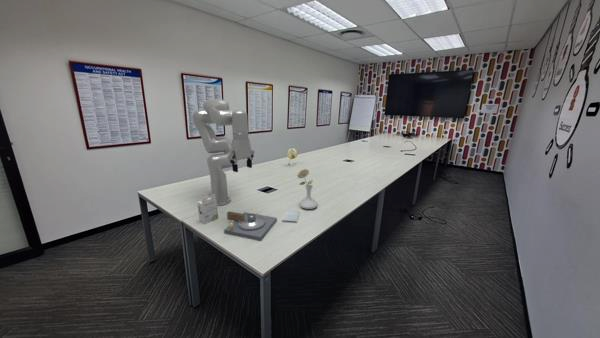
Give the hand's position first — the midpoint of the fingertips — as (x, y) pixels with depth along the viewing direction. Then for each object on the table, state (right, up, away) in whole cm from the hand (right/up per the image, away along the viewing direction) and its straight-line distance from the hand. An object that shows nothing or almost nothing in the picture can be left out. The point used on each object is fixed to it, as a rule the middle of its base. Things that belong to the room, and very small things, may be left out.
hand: (242, 169), depth 120 cm
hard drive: (+25, -28, +13) cm, 40 cm away
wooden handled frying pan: (+1, -28, +2) cm, 28 cm away
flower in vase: (+34, -24, +26) cm, 49 cm away
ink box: (-21, -28, +8) cm, 36 cm away
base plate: (+4, -30, +2) cm, 31 cm away
